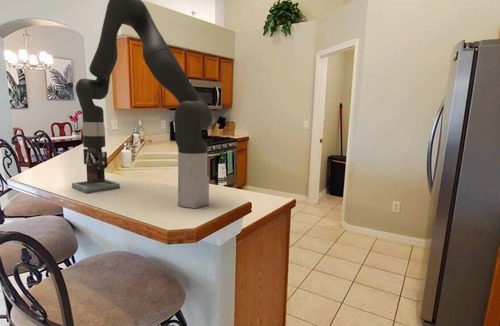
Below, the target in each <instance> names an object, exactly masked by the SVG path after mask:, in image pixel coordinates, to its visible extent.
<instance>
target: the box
mask: <svg viewBox="0 0 500 326" xmlns="http://www.w3.org/2000/svg"><path fill="white" fill-rule="evenodd" d="M85 165H86V181H87V183H88V184H90V183H105V179H106V178H105V172H104V179H98V177H97V166H96V165H95V164H94V162H87V164H85Z"/></svg>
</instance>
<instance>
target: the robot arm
mask: <svg viewBox="0 0 500 326" xmlns="http://www.w3.org/2000/svg"><path fill="white" fill-rule="evenodd" d="M105 9H106V11H105V13H104V14H105V15H104V20H103V24H102V28H101V33H100V37H99V40H98V41H99V42H98V44H97V48H96V50H95V52H94V56H93V58H92V61H91V62H90V64H89V65H90V66H89V68H88V70H89V73H90V74H91V75H92V76H94V77H96V78H95V79H90V78H80V79H79V80H77V82H76V85H75V92H76V96H77V98H78V102H79V104H80V109H81V113H82V114H81V115H82V128H81V129H82V131H81V132H82V146H83V164H84V165H86V164H87V162H94V164H95V165H96V166H97V177H98V179H104V173H105V169H107V168H108V154H107V153H108V152H107V151H103V150H102V149H103V148H105V147H106V127H105V122H104V121H105V118H104V109H103V107H102V106H99V105H96V104H95V103H94V100H98V101H99V100H103V99H105V98H106V96H108V93H109V89H110V80H111V75H112V72H113V70H114V68H115V66H116V64H117V62H118V55H119V53H118V43H117V42H118V41H117V40H118V38H117V37H118V34H119V30H120V29H121V27H122V25H125V26H129V27H131V28H132V29H133V30H134V31H135V32H136V34H137V36H138V37H139V39H140V41H141V43H142V57H143V60H144V62H145V64H146V66H147V68H148V69H149V71H150V73H151V74H152V76H153V78H154V79H156V81H157V82H158V83H159V84H160V85H161V86H162V87H164V88H165V89H166V90H167V92H169V93H170V94H171V95H172V96H173V97H174V98H175V99H176V100H177V102H178V103H179V104H178V105H177V106H176V109H175V112H174V135H175V137H174V138H175V143H176V145H177V151H178V152H177V156H178V157H177V158H178V159H177V197H178V198H177V202H178V203H177V204H178V206H179V207H182V208H190V209H191V208H192V209H197V208H201V207H205V206H208V205H209V204H210V203H209V200H210V199H209V198H210V197H209V196H210V194H209V193H210V176H208V144H207V142H205V141H204V140H203V138H202V131H203V130H206V129H208V128H209V127H210V126H211V124H212V120H213V114H212V110H211V108H210V107H209V105H208V104H207V103H206V101H205V100H204V99H203V98H202V97H201V95H200V93H198V91H197V90H196V89H195V87H194V85H193V84H192V82H191V81H190V79H189V77H188V75H186V73H185V71H184V70H183V68H182V66H181V64H180V63H179V61H178V59H177V58H176V56H175V55H174V53H173V52H172V50H171V47H170V46H169V45H168V44H167V42H166V41H165V39H164V37H163V35H162V34H161V33H160V31H159V30H158V28H157V26H156V24H155V21H154V20H153V18H152V16H151V14H150V11H149V9H148V8H147V5H146V4H145V3H144V2H143V1H142V0H108V3H107V6H106V8H105Z"/></svg>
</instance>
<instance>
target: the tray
mask: <svg viewBox="0 0 500 326" xmlns="http://www.w3.org/2000/svg"><path fill="white" fill-rule="evenodd" d="M120 185H121V184H120V183H119V182H116V181H113V180H109V179H106V178H105V183H90V184H88V183H87V180H86V181H76V182H71V188H72V189H74V190H76V191H79V192H82V193H84V194H93V193H99V192H104V191H105V192H106V191H110V190H116V189H117V190H118V189H121V188H120V187H121V186H120Z"/></svg>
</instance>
